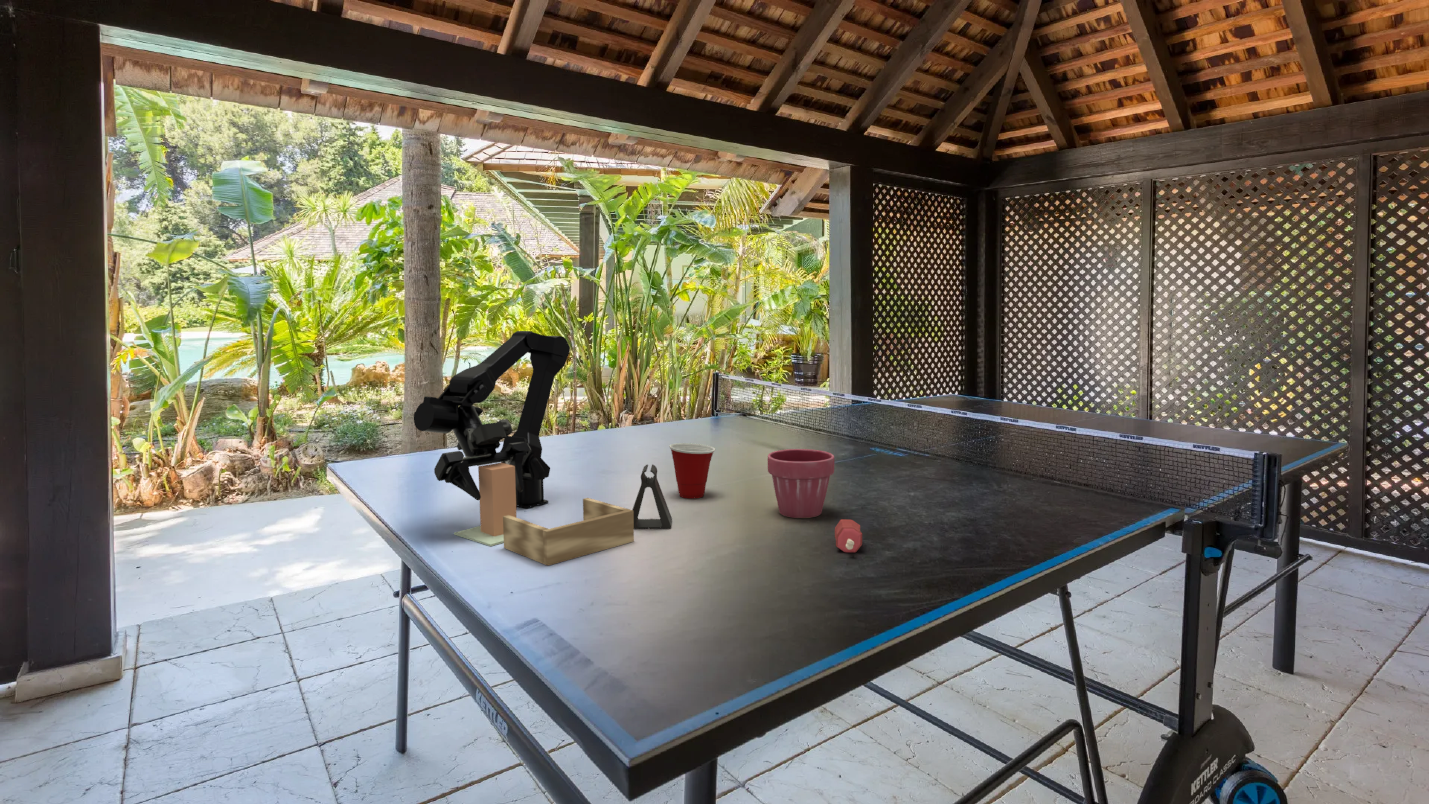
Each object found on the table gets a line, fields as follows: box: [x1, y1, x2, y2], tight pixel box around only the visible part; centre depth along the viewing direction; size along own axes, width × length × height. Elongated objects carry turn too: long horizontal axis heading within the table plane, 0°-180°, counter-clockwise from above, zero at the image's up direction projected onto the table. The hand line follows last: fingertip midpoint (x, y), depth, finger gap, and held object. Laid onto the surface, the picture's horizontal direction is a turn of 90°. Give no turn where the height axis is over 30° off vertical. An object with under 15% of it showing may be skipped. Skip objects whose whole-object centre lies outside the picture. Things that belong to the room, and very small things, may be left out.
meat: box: [834, 518, 863, 554], centre depth 141 cm, size 12×5×5 cm, turn 173°
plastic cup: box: [669, 442, 716, 499], centre depth 180 cm, size 11×11×12 cm
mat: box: [453, 525, 504, 547], centre depth 151 cm, size 12×12×1 cm
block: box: [477, 462, 518, 536], centre depth 150 cm, size 5×5×13 cm
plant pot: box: [767, 448, 835, 519], centre depth 165 cm, size 14×14×13 cm
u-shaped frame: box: [503, 497, 635, 566], centre depth 143 cm, size 14×19×6 cm
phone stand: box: [631, 463, 673, 530], centre depth 156 cm, size 9×6×12 cm, turn 91°
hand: (501, 494), depth 149 cm, fingers open, 9 cm apart
